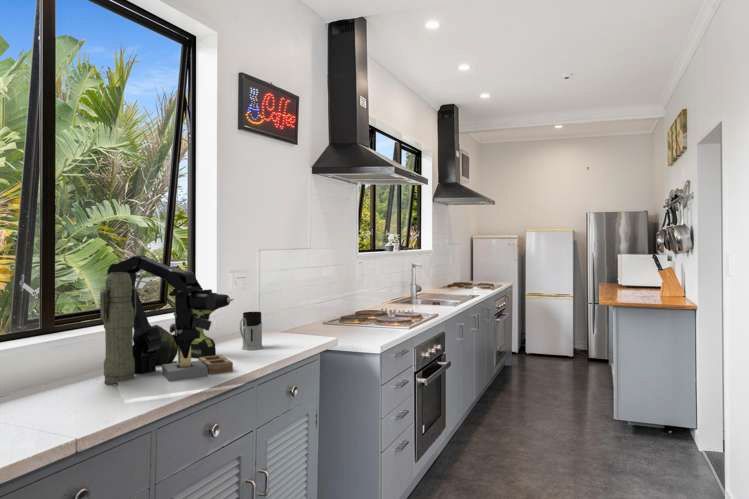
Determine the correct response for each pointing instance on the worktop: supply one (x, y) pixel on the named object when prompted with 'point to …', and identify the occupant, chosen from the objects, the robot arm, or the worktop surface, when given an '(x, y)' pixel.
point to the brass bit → (184, 359)
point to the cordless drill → (203, 344)
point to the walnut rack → (217, 364)
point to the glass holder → (251, 331)
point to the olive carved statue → (118, 327)
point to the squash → (166, 348)
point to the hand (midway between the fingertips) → (184, 357)
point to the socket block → (184, 371)
